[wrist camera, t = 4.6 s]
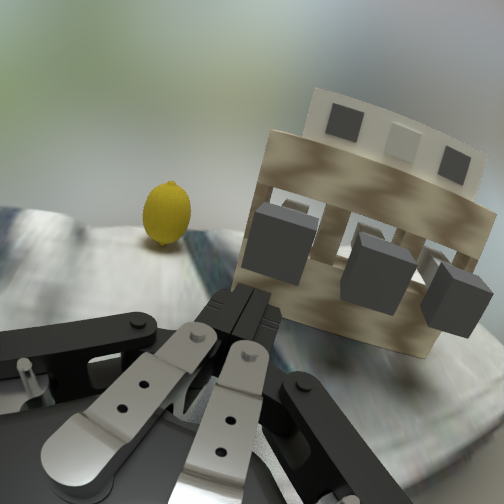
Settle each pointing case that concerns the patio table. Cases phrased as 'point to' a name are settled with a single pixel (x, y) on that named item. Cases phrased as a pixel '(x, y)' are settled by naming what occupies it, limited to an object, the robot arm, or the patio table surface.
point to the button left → (280, 241)
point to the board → (333, 227)
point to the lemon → (166, 213)
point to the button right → (451, 294)
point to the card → (394, 142)
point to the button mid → (376, 271)
